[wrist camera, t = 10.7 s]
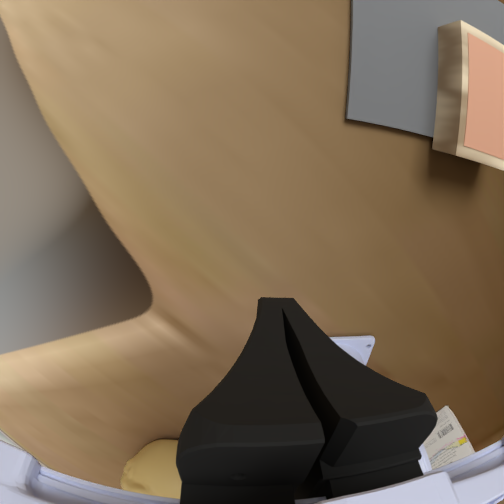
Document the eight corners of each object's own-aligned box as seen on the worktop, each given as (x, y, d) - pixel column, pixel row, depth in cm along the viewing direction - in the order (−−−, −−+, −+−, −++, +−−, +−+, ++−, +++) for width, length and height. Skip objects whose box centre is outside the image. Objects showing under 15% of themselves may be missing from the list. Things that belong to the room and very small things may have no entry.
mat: (525, 169, 20) (527, 170, 19) (345, 118, 18) (347, 118, 18) (526, 24, 13) (529, 23, 13) (349, -66, 12) (350, -68, 12)
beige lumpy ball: (118, 428, 31) (100, 500, 21) (208, 424, 30) (203, 509, 20) (158, 468, 36) (149, 529, 26) (236, 465, 35) (237, 532, 25)
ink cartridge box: (408, 443, 36) (437, 517, 23) (397, 437, 35) (428, 518, 21) (454, 413, 34) (491, 484, 21) (447, 403, 32) (488, 482, 19)
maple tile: (508, 172, 16) (514, 52, 12) (456, 155, 16) (460, 19, 12) (484, 164, 19) (490, 54, 15) (431, 149, 19) (437, 27, 15)
